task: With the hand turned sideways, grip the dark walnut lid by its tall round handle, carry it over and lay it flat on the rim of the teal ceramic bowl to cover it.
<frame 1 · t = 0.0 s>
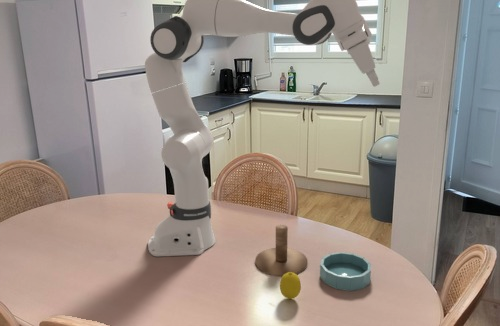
hand: (376, 83, 121), 54 cm above the table, tool tilted 30°, fingers open, 8 cm apart
lid: (281, 262, 136), on the table
bowl: (344, 276, 127), on the table
lemon: (290, 299, 117), on the table
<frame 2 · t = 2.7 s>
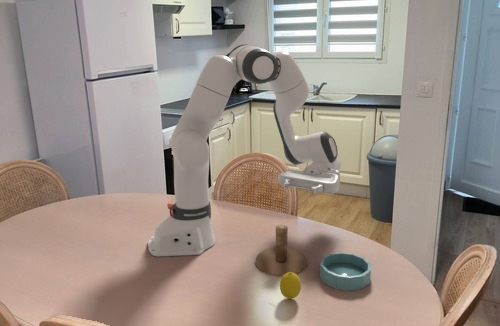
hand: (298, 188, 140), 20 cm above the table, tool horizontal, fingers open, 8 cm apart
nothing on the table moved.
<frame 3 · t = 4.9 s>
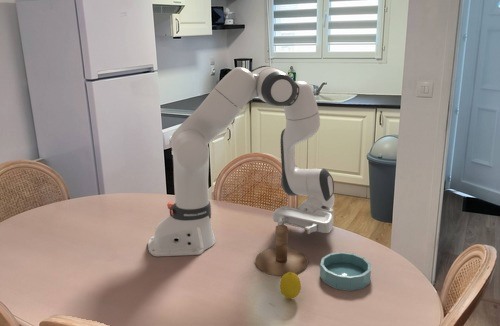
hand: (292, 228, 140), 8 cm above the table, tool horizontal, fingers open, 8 cm apart
nothing on the table moved.
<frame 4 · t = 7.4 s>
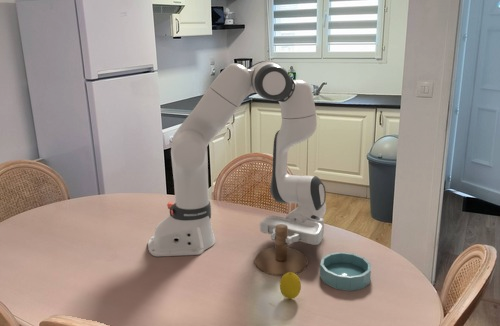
hand: (280, 239, 133), 8 cm above the table, tool horizontal, fingers closed on lid, 4 cm apart
lid: (281, 262, 136), on the table, touching gripper
everything else where it was.
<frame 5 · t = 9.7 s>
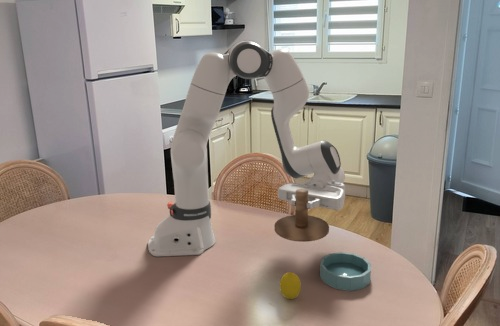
hand: (300, 204, 127), 20 cm above the table, tool horizontal, fingers closed on lid, 4 cm apart
lid: (301, 229, 130), point 12 cm above the table, touching gripper
everything else where it was.
when the fingers open (13 cm above the table, at t = 12.2 s): lid drops 1 cm, resting on bowl.
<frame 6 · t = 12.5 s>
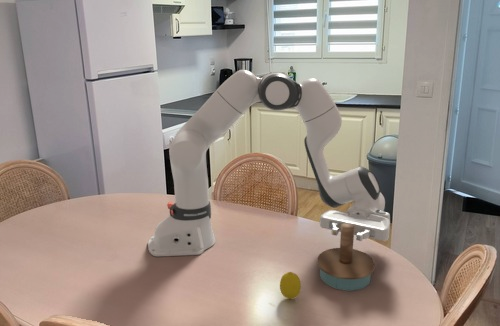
hand: (346, 235, 123), 13 cm above the table, tool horizontal, fingers open, 6 cm apart
lid: (345, 264, 126), point 4 cm above the table, touching bowl
everything else where it was.
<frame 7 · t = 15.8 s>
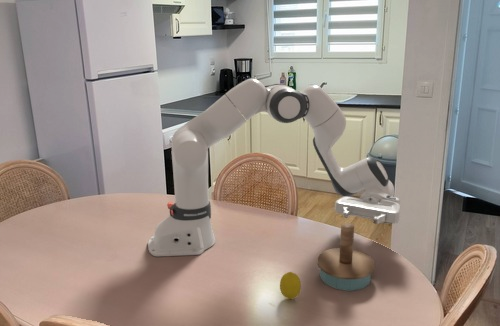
hand: (360, 218, 133), 14 cm above the table, tool horizontal, fingers open, 8 cm apart
nothing on the table moved.
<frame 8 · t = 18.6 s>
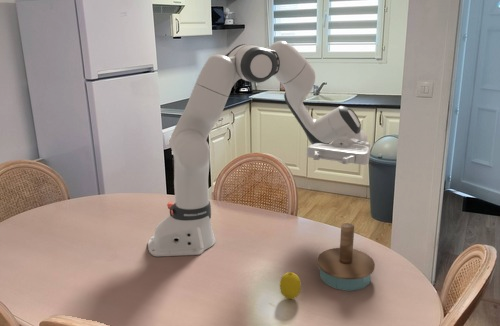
hand: (329, 159, 136), 30 cm above the table, tool horizontal, fingers open, 8 cm apart
nothing on the table moved.
at the end: lid 0.1 cm from the bowl (horizontally); lid point 4.0 cm above the table; lid tilted 0° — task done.
